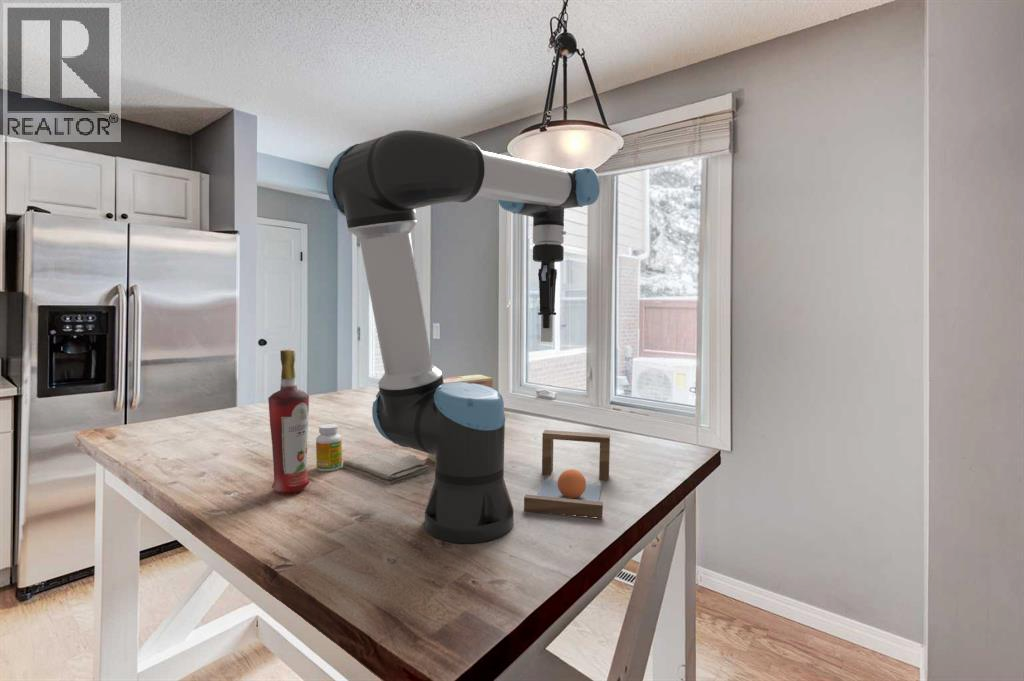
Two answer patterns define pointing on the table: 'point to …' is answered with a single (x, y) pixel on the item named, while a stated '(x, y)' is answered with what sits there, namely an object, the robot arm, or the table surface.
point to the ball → (571, 484)
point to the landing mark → (551, 490)
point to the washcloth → (387, 465)
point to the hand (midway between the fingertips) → (546, 341)
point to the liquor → (289, 430)
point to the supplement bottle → (329, 448)
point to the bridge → (575, 436)
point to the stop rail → (563, 506)
